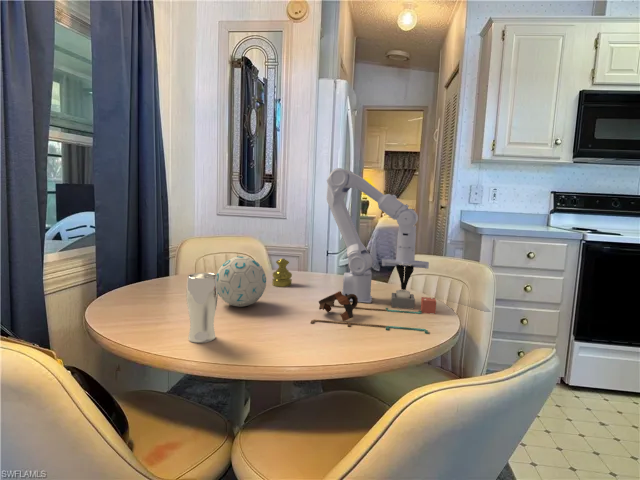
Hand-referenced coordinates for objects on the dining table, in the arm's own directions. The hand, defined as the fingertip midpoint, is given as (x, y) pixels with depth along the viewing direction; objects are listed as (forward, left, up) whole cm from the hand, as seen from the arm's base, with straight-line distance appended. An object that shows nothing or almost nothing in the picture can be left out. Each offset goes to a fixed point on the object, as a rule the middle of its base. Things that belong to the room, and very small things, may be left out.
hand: (403, 289), depth 131 cm
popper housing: (0, 0, -5) cm, 5 cm away
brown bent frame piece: (-19, -17, -6) cm, 26 cm away
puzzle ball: (-49, -15, -6) cm, 52 cm away
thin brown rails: (-10, -16, -5) cm, 20 cm away
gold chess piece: (-44, +16, -6) cm, 47 cm away
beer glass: (-48, -44, -6) cm, 65 cm away
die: (+7, -5, -5) cm, 11 cm away
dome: (0, 0, -4) cm, 4 cm away
